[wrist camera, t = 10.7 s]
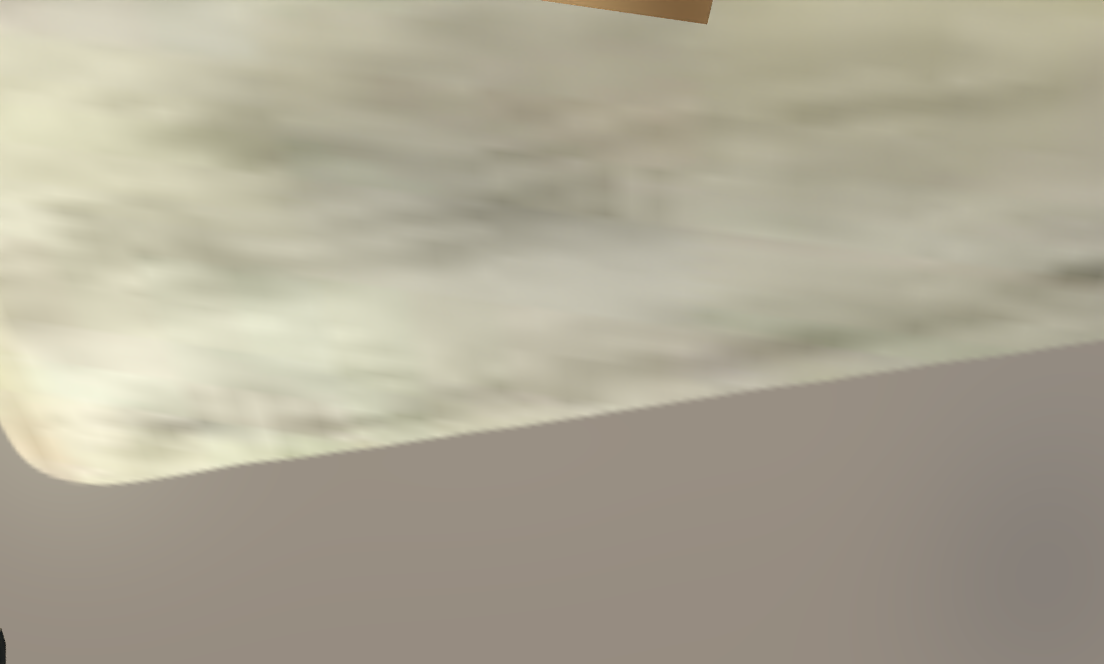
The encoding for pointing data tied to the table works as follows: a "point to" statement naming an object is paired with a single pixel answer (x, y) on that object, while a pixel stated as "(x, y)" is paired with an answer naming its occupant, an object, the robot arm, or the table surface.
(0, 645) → the robot arm
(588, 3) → the lid
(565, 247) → the table surface
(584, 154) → the table surface
